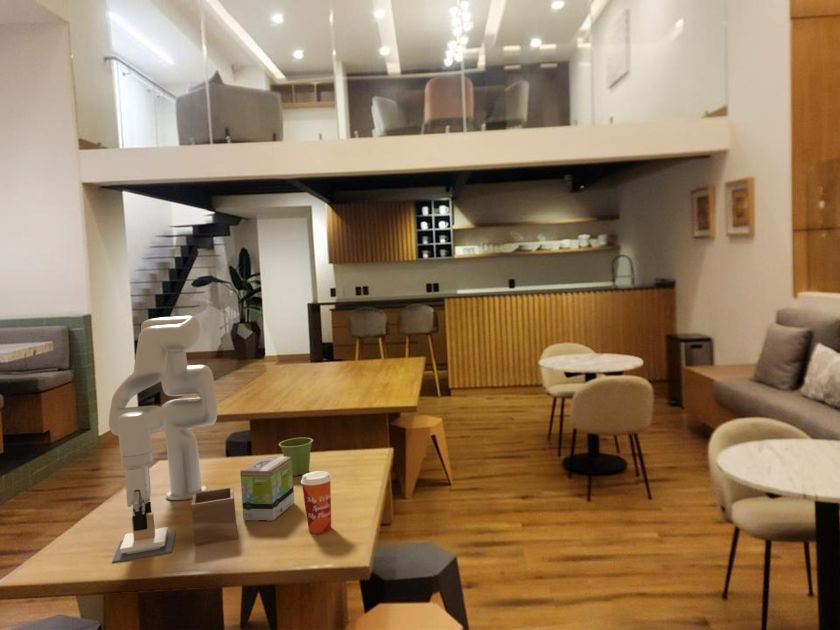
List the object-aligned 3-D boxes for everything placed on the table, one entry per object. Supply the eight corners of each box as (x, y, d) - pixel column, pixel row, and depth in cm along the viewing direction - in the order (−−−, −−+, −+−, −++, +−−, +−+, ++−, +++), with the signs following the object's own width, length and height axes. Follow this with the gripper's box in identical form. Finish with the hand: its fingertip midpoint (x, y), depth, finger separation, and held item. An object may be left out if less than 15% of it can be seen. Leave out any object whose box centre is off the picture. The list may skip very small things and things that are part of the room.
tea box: (275, 521, 185) (270, 470, 184) (242, 521, 187) (238, 470, 186) (295, 502, 199) (291, 455, 198) (265, 502, 201) (261, 455, 200)
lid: (126, 541, 176) (123, 512, 175) (168, 534, 179) (165, 505, 178) (120, 557, 166) (117, 525, 165) (165, 549, 169) (162, 518, 168)
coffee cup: (310, 538, 171) (305, 481, 170) (300, 528, 178) (296, 474, 177) (340, 530, 174) (335, 475, 174) (329, 521, 182) (325, 468, 181)
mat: (120, 542, 177) (120, 540, 177) (175, 533, 181) (175, 531, 181) (112, 563, 163) (112, 561, 163) (171, 552, 167) (171, 551, 167)
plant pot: (288, 468, 236) (285, 438, 236) (319, 467, 235) (317, 437, 234) (276, 479, 225) (273, 446, 224) (309, 478, 223) (306, 445, 222)
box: (196, 531, 181) (193, 492, 180) (236, 524, 184) (233, 486, 183) (195, 546, 171) (191, 504, 170) (237, 538, 174) (233, 498, 173)
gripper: (126, 453, 178) (132, 514, 179) (116, 470, 161) (122, 537, 162) (155, 449, 180) (161, 510, 181) (148, 465, 163) (154, 532, 165)
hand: (143, 523), depth 172 cm, fingers open, 9 cm apart
